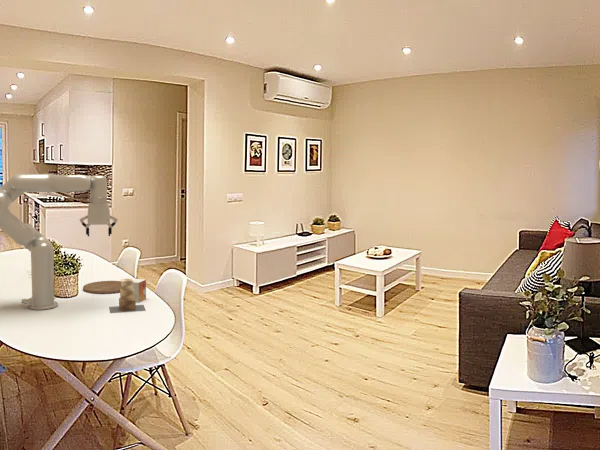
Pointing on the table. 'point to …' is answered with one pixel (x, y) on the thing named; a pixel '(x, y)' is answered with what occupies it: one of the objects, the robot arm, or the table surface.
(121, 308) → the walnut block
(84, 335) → the table surface
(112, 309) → the slate mat
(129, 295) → the oak block
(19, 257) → the table surface
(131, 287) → the maple cube
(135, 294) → the small box
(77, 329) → the table surface
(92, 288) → the trivet
